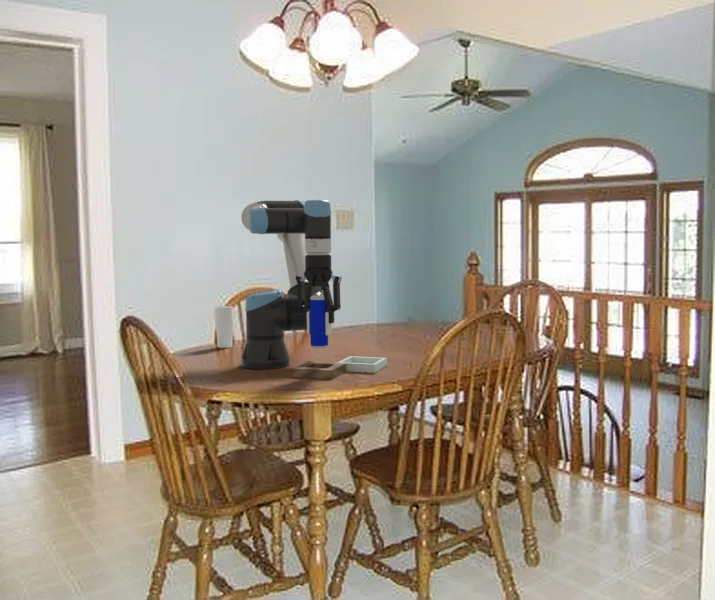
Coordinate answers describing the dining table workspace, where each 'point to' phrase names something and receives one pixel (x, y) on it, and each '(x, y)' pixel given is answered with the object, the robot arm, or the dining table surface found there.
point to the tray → (364, 364)
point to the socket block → (319, 370)
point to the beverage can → (318, 321)
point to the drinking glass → (224, 326)
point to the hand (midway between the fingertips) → (319, 333)
